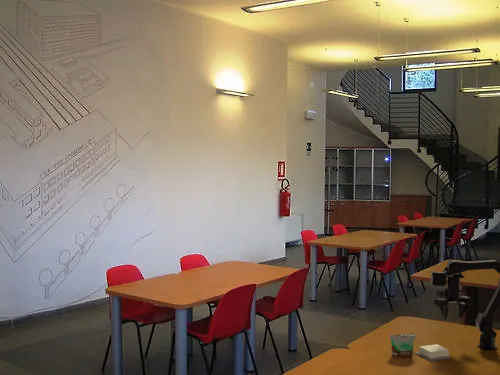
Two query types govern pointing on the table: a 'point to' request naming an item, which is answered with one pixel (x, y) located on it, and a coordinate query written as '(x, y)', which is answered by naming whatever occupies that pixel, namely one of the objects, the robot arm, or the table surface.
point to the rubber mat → (433, 358)
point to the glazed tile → (434, 351)
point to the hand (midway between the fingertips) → (452, 318)
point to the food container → (402, 345)
